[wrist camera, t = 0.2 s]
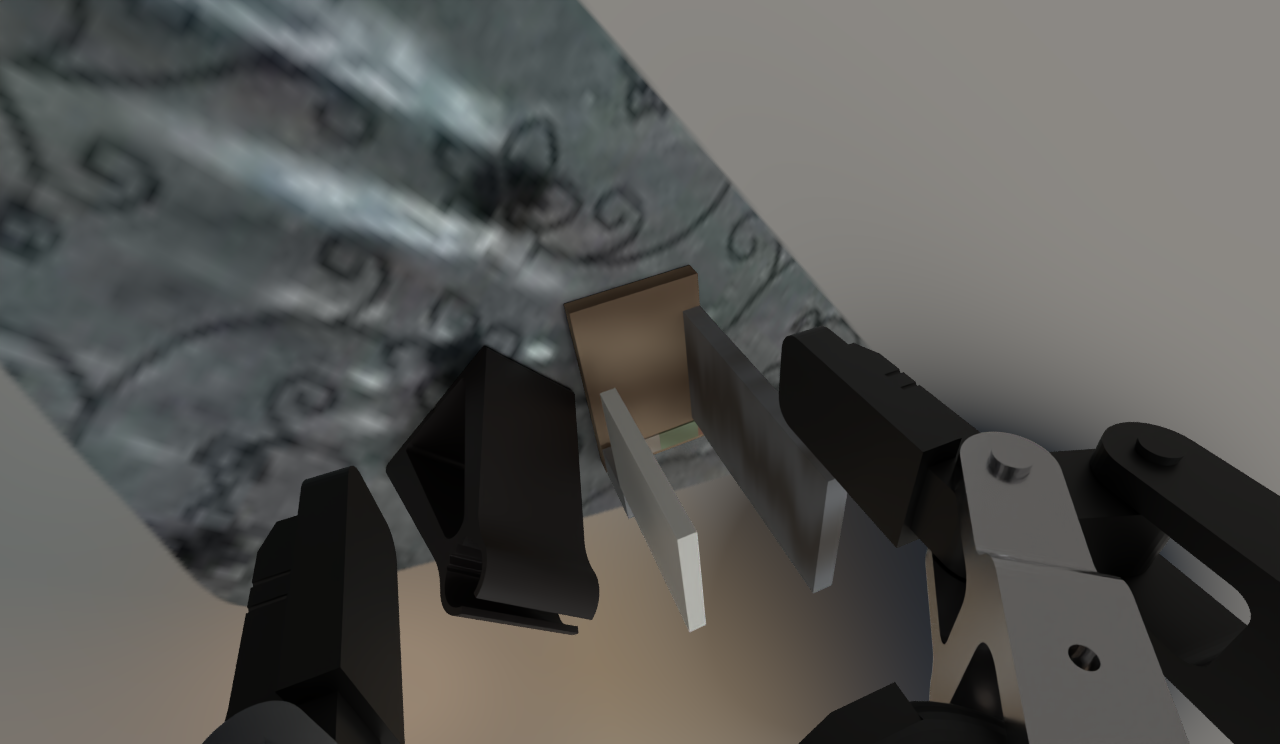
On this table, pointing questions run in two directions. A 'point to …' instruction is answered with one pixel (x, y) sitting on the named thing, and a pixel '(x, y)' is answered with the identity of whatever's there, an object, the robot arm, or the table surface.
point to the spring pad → (654, 509)
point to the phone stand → (501, 497)
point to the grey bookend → (706, 407)
